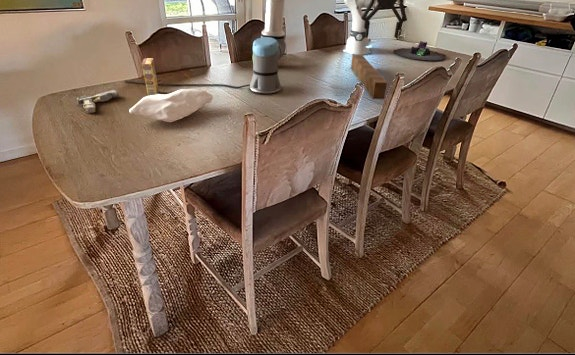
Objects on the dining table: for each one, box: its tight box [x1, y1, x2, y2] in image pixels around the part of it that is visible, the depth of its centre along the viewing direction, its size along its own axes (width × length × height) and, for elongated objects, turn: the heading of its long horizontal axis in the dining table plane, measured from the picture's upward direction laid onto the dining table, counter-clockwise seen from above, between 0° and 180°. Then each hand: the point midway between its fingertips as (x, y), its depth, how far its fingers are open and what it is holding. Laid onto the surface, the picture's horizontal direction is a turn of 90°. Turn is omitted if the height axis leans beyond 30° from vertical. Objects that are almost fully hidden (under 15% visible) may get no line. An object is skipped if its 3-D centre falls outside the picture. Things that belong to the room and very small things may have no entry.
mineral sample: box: [392, 40, 447, 61], centre depth 247 cm, size 35×35×9 cm
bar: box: [350, 54, 388, 99], centre depth 193 cm, size 51×6×8 cm, turn 4°
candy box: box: [141, 57, 160, 96], centre depth 163 cm, size 9×4×15 cm, turn 13°
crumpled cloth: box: [129, 88, 214, 123], centre depth 147 cm, size 24×35×9 cm
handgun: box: [76, 89, 120, 114], centre depth 155 cm, size 3×18×15 cm
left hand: (381, 37), depth 168 cm, fingers open, 13 cm apart
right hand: (365, 9), depth 200 cm, fingers open, 8 cm apart
